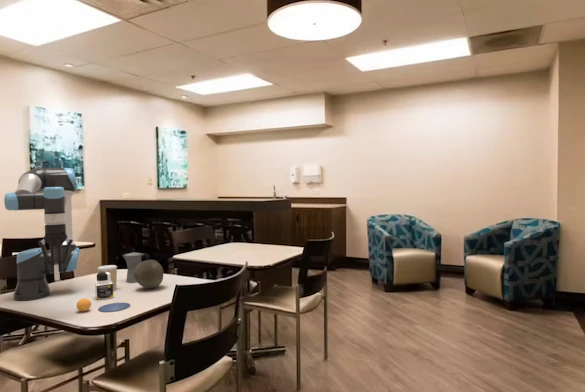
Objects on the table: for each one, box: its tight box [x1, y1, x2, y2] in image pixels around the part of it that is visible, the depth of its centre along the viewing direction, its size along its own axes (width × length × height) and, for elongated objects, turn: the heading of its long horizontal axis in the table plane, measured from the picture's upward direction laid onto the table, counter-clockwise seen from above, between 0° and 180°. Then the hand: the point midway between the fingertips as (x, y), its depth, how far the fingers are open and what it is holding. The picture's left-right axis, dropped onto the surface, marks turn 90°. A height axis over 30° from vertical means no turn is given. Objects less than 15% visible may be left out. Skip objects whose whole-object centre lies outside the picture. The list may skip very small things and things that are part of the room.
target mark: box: [97, 302, 131, 313], centre depth 175 cm, size 13×13×1 cm
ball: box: [76, 297, 92, 313], centre depth 171 cm, size 6×6×6 cm
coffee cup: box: [97, 264, 118, 291], centre depth 206 cm, size 9×9×12 cm
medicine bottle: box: [94, 272, 114, 301], centre depth 192 cm, size 7×7×12 cm
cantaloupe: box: [134, 259, 164, 290], centre depth 206 cm, size 14×14×15 cm
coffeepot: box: [121, 248, 150, 284], centre depth 224 cm, size 15×9×18 cm, turn 88°
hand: (57, 279), depth 166 cm, fingers closed
